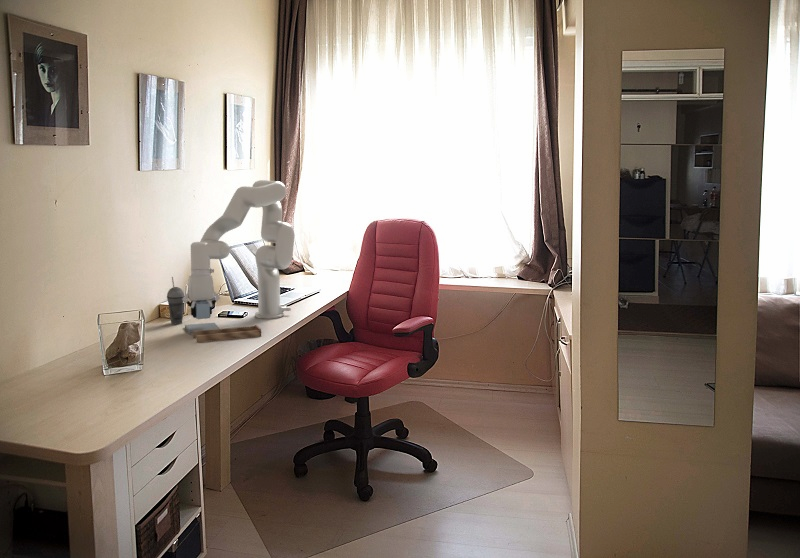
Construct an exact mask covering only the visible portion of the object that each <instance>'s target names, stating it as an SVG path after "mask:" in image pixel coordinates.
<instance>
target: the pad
mask: <svg viewBox="0 0 800 558" xmlns="http://www.w3.org/2000/svg"><path fill="white" fill-rule="evenodd" d="M184 328H185V330H186V332H188V334H189V335H193V331H201V330H213V329H221V328H220V327H219V326H218V325H217V323H216V322H205V323H203V322H201V323H193V324H184Z"/></svg>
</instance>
